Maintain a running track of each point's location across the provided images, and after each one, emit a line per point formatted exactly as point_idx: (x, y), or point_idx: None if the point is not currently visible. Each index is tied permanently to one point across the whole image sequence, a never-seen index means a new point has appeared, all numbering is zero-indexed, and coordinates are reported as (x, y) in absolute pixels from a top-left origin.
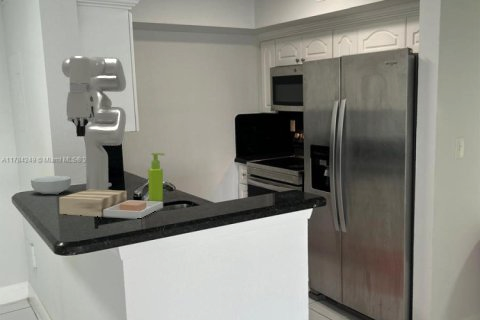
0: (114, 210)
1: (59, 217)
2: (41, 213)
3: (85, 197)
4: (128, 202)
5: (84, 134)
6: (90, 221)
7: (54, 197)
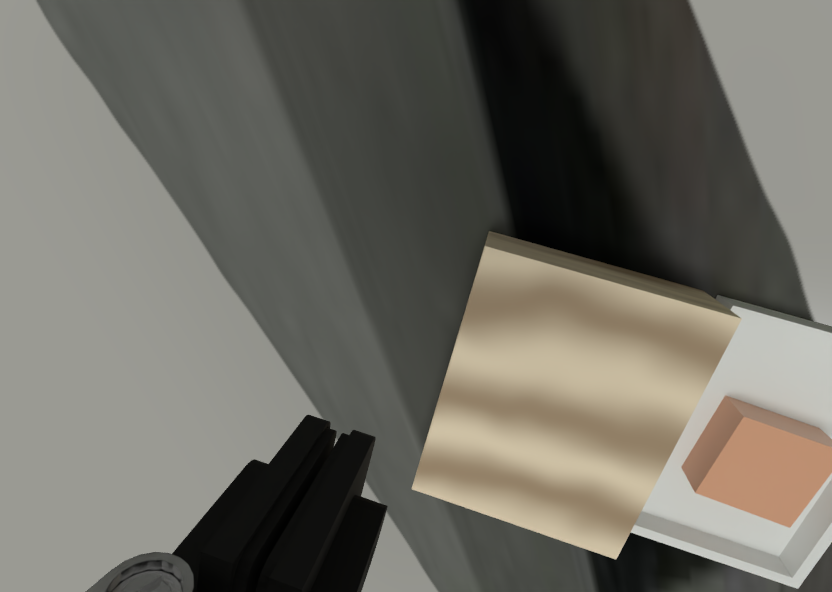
0: (670, 545)
1: None
2: (351, 421)
3: (531, 500)
4: (740, 453)
5: (364, 462)
6: (575, 564)
7: (232, 13)
